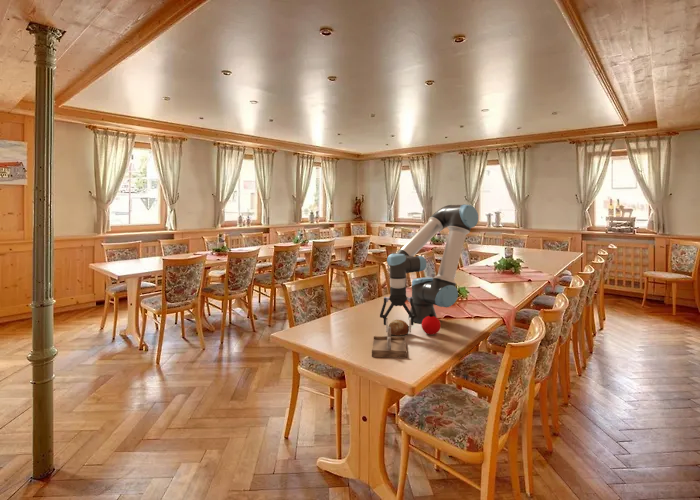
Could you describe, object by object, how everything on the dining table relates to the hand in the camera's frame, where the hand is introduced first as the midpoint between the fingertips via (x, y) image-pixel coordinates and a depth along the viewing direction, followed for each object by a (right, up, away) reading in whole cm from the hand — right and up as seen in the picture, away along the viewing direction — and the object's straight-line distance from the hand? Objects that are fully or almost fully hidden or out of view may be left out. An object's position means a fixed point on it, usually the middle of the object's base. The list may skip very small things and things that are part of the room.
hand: (398, 331), depth 185 cm
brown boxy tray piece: (-7, -3, -19) cm, 21 cm away
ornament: (+16, -1, 0) cm, 16 cm away
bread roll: (0, -1, 0) cm, 1 cm away
